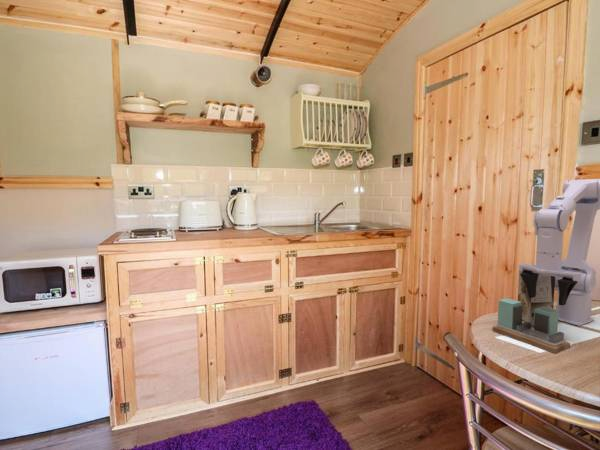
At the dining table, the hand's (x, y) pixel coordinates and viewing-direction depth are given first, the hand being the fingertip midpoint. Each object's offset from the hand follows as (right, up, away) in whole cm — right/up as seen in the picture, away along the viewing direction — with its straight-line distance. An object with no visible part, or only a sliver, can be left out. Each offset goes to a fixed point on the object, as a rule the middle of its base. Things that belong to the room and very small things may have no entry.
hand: (546, 300), depth 94 cm
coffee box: (+4, -9, +11) cm, 14 cm away
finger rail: (-6, -10, -2) cm, 12 cm away
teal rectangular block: (0, -10, +1) cm, 10 cm away
